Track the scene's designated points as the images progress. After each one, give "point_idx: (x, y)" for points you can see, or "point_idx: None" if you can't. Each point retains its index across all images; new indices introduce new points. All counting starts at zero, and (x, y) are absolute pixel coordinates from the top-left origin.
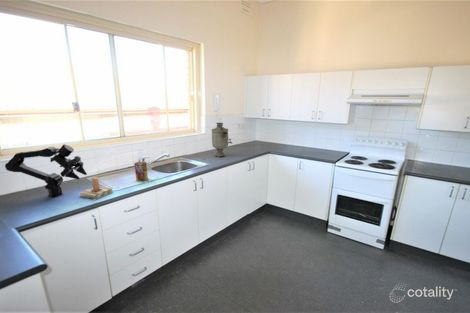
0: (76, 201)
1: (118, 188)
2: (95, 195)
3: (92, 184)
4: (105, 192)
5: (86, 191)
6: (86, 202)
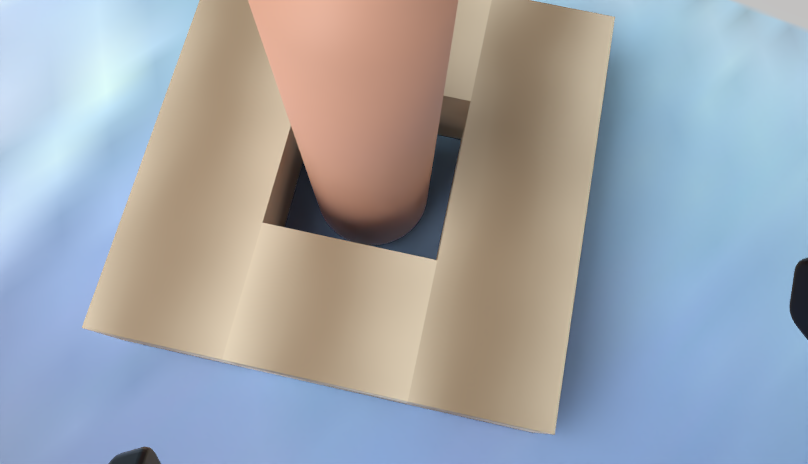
0: (747, 313)
1: (51, 7)
2: (592, 17)
3: (431, 124)
4: None
5: (482, 317)
6: (718, 118)
